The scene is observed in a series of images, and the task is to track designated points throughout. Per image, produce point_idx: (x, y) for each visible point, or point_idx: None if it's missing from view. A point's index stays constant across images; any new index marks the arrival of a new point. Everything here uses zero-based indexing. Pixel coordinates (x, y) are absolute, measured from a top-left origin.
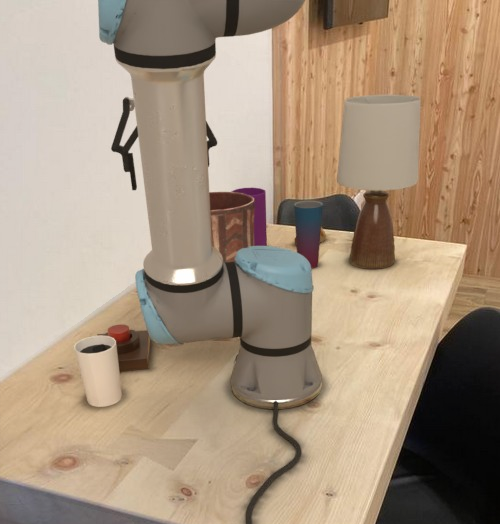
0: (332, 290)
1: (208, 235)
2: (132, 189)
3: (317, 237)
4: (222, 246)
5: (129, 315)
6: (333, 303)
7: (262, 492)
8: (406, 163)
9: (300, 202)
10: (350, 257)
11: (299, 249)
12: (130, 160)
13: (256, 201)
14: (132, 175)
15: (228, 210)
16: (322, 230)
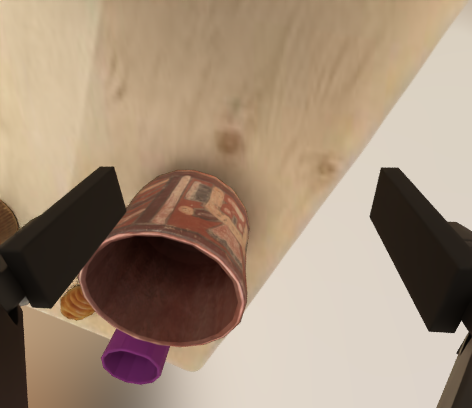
0: (17, 118)
1: None
2: (398, 170)
3: None
4: (166, 191)
5: (355, 61)
6: (2, 60)
7: None
8: None
9: (25, 301)
10: (8, 220)
11: None
12: (454, 245)
13: (117, 340)
14: (414, 197)
15: (121, 231)
16: (61, 306)
